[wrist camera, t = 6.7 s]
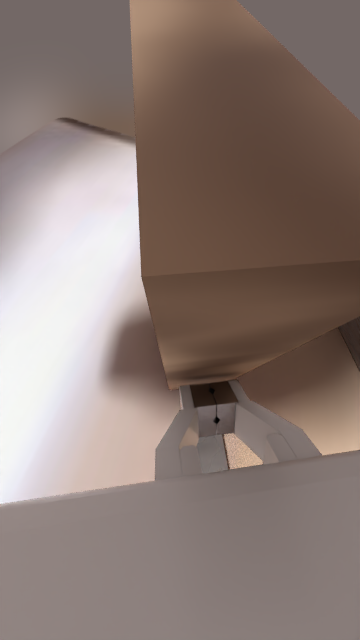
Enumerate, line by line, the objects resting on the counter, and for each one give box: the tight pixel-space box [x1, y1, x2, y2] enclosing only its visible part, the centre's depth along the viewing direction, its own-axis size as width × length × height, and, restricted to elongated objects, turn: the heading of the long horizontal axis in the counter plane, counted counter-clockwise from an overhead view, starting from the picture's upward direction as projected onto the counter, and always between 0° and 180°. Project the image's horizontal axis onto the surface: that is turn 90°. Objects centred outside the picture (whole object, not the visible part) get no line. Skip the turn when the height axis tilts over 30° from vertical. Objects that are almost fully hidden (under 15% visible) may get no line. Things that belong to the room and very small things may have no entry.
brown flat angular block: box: [130, 0, 360, 390], centre depth 11 cm, size 4×13×13 cm, turn 7°
